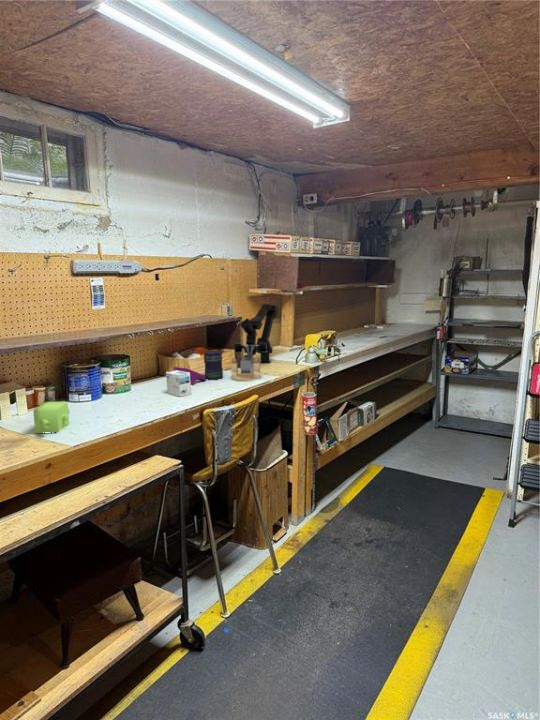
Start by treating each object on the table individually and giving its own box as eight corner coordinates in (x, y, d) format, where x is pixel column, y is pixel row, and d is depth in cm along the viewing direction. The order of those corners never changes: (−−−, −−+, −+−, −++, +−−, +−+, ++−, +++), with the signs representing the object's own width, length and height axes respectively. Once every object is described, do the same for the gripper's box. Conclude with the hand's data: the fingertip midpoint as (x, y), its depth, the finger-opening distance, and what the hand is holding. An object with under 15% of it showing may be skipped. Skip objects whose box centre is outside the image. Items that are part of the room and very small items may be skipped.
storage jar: (215, 381, 248) (214, 353, 246) (201, 379, 254) (199, 352, 251) (226, 377, 257) (225, 350, 254) (212, 376, 262) (211, 349, 259)
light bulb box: (191, 394, 221) (190, 372, 220) (180, 397, 217) (178, 374, 215) (178, 391, 229) (176, 369, 227) (166, 394, 224) (165, 372, 222)
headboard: (232, 379, 252) (231, 357, 250) (260, 378, 251) (259, 357, 249) (230, 381, 247) (229, 359, 245) (259, 381, 245) (258, 359, 243)
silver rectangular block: (245, 371, 271) (244, 354, 269) (254, 371, 270) (253, 354, 269) (241, 379, 251) (240, 360, 249) (250, 379, 251) (250, 360, 249)
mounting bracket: (193, 390, 254) (169, 382, 240) (197, 375, 256) (174, 366, 242) (206, 392, 249) (182, 384, 235) (209, 377, 250) (187, 368, 236)
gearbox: (58, 438, 166) (56, 413, 164) (29, 438, 166) (27, 413, 164) (76, 422, 184) (74, 399, 182) (50, 422, 183) (48, 398, 181)
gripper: (267, 345, 284) (266, 366, 275) (237, 346, 286) (235, 367, 277) (266, 334, 275) (265, 355, 266) (235, 334, 277) (232, 356, 268)
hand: (249, 359), depth 270 cm, fingers closed
